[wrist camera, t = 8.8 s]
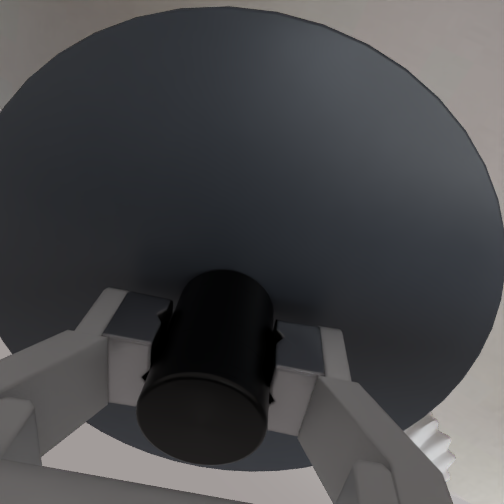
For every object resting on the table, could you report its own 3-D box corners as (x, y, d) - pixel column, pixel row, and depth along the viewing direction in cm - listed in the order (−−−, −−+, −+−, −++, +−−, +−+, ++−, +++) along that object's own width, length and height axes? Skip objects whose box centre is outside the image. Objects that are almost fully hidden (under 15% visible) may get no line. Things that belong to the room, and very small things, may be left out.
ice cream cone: (304, 330, 38) (314, 508, 23) (392, 298, 35) (462, 474, 21) (340, 390, 41) (368, 578, 27) (423, 364, 38) (502, 556, 24)
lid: (23, 403, 14) (-83, 550, 10) (-45, -48, 8) (-382, -130, 4) (387, 468, 15) (425, 639, 10) (595, 75, 8) (898, 115, 4)
